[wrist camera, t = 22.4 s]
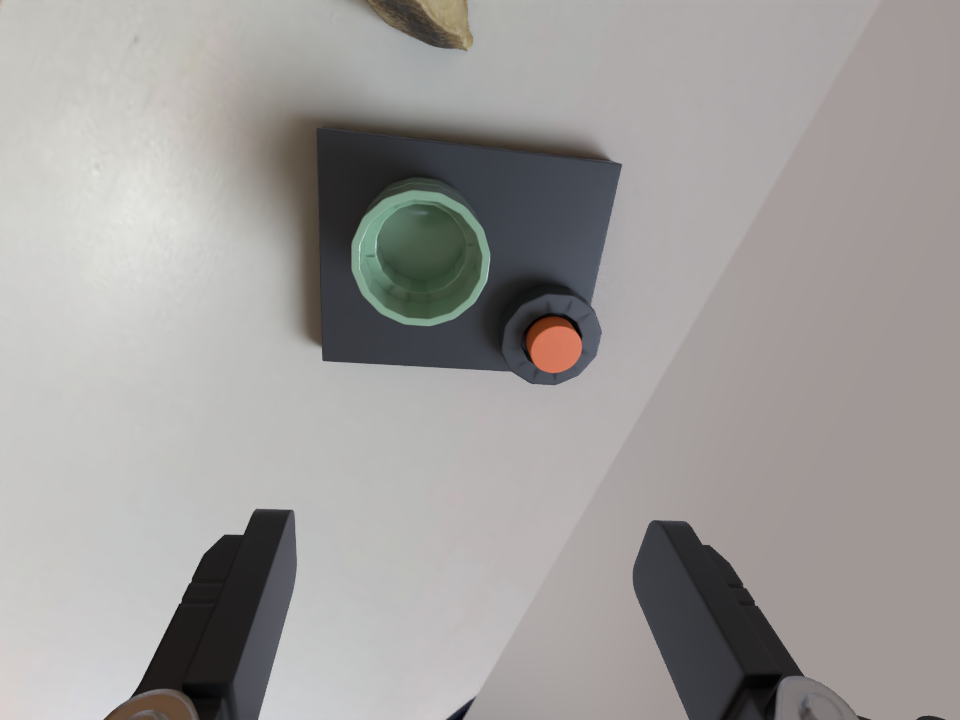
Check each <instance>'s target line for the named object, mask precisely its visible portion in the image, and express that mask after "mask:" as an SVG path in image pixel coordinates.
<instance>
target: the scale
mask: <svg viewBox="0 0 960 720" xmlns="http://www.w3.org/2000/svg"><path fill="white" fill-rule="evenodd" d="M317 159H318V199H319V240H320V280H321V321H322V360H323V361H331V362H349V363H367V364H385V365H403V366H421V367H439V368H457V369H475V370H493V371H511V372H513V373H515V374H516V375H518V376H519V377H521V378H523V379H524V380H526V381H527V382H529V383H531V384H543V385H557V384H559V383H562V382H564V381H567V380H569V379H571V378H574V377H576V376H578V375H579V374H581V372H582V371H583V370H584V369H585V368H586V367H587V366H588V365H589V363H590V362H591V361H592V360H593V359H594V358H595V356H596V355H597V351H598V346H599V342H600V338H601V334H602V332H601V328H600V325H599V322H598V319H597V317H596V314H595V311H594V309H593V308H592V307H591V301H592V297H593V292H594V288H595V283H596V279H597V274H598V270H599V265H600V261H601V256H602V252H603V247H604V243H605V238H606V234H607V229H608V225H609V220H610V216H611V212H612V207H613V203H614V198H615V194H616V189H617V185H618V180H619V176H620V171H621V167H622V164H620V163H616V162H613V161H606V160H598V159H589V158H581V157H572V156H564V155H555V154H547V153H539V152H530V151H522V150H513V149H505V148H496V147H488V146H479V145H471V144H462V143H454V142H445V141H437V140H429V139H420V138H412V137H403V136H395V135H386V134H378V133H369V132H361V131H352V130H344V129H336V128H327V127H321V128H317ZM411 177H419V178H428V179H437V180H439V181H441V182H443V183H445V184H447V185H448V186H450V187H452V188H454V189H456V190H457V191H459V192H460V193H461V194H462V195H463V197H464V198H465V199H466V200H467V202H468V203H469V204H470V205H471V207H472V208H473V209H474V211H475V213H476V215H477V217H478V219H479V221H480V223H481V225H482V227H483V230H484V233H485V236H486V240H487V244H488V247H489V251H490V264H489V272H488V280H487V282H486V284H485V286H484V288H483V289H482V291H481V293H480V295H479V296H478V298H477V300H476V302H475V303H474V304H473V305H472V306H470V307H469V308H468V309H466V310H465V311H464V312H463V313H461V314H460V315H459V316H458V317H456V318H454V319H452V320H449V321H446V322H443V323H439V324H436V325H433V326H419V325H405V324H402V323H400V322H398V321H396V320H393V319H391V318H389V317H387V316H385V315H382V314H381V313H379V312H378V311H377V310H376V309H375V308H374V307H373V306H372V305H371V304H370V303H369V301H368V300H367V299H366V298H365V297H364V296H363V295H362V294H361V292H360V289H359V287H358V285H357V282H356V280H355V277H354V275H353V273H352V269H351V243H352V240H353V238H354V236H355V233H356V231H357V229H358V227H359V224H360V222H361V220H362V218H363V216H364V214H365V212H366V210H367V208H368V207H369V205H370V203H371V201H372V200H373V199H374V198H375V197H376V196H377V195H378V194H380V193H381V192H382V191H383V190H384V189H385V188H386V187H387V186H388V185H390V184H392V183H396V182H399V181H402V180H405V179H408V178H411ZM548 316H558V317H562V318H564V319H566V320H567V321H568V322H570V324H571V325H572V326H573V328H574V329H575V331H576V332H577V334H578V335H579V337H580V339H581V342H582V350H581V354H580V357H579V358H578V360H577V361H576V363H575V364H574V365H573V366H571V367H570V368H569V369H567V370H565V371H562V372H558V373H549V372H545V371H542V370H541V369H539V368H538V367H537V366H536V365H535V364H534V363H533V361H532V359H531V357H530V354H529V352H528V349H527V347H526V336H527V333H528V331H529V329H530V328H531V326H532V325H533V324H534V323H535V322H537V321H538V320H540V319H542V318H545V317H548Z"/></svg>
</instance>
